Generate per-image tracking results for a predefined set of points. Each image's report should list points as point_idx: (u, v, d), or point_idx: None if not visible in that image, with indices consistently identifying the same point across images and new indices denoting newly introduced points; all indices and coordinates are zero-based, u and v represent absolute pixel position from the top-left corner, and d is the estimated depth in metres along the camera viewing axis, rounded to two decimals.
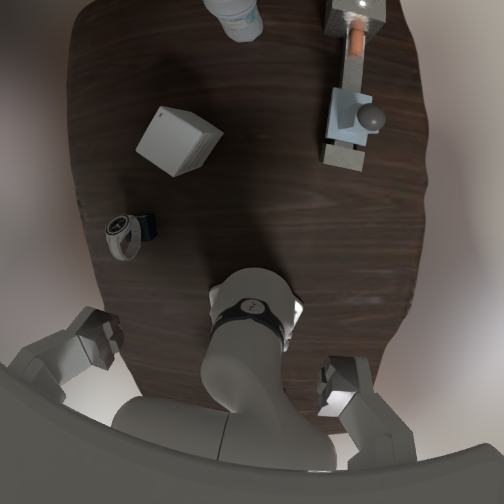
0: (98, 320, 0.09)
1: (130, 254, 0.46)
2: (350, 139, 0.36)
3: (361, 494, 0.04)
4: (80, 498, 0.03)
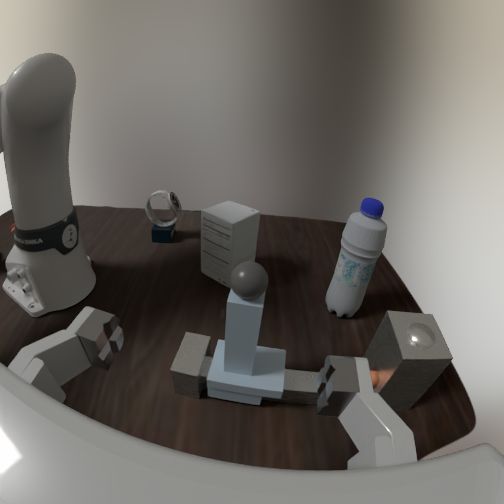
0: (98, 320, 0.09)
1: (148, 208, 0.58)
2: (215, 362, 0.28)
3: (361, 494, 0.04)
4: (80, 498, 0.03)
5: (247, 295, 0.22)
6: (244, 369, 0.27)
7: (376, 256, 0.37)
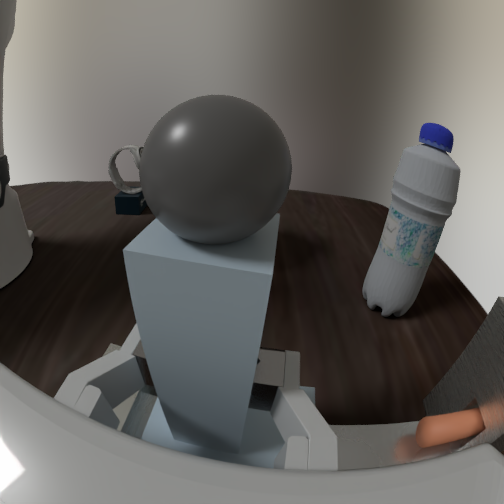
0: None
1: (113, 169, 0.40)
2: (157, 415, 0.11)
3: (361, 494, 0.04)
4: (80, 498, 0.03)
5: (197, 211, 0.04)
6: (220, 443, 0.09)
7: (449, 213, 0.20)
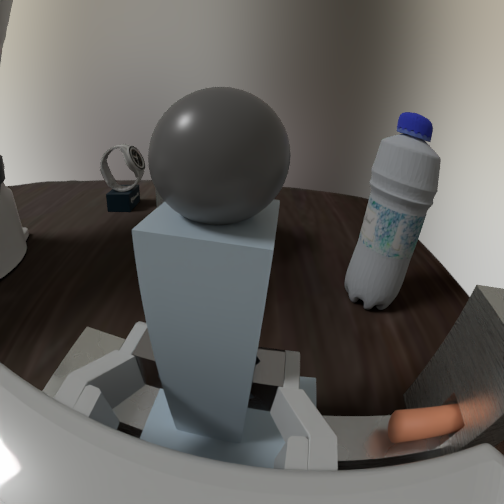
0: None
1: (105, 167, 0.41)
2: (160, 406, 0.11)
3: (361, 494, 0.04)
4: (80, 498, 0.03)
5: (204, 190, 0.05)
6: (222, 432, 0.10)
7: (429, 203, 0.20)
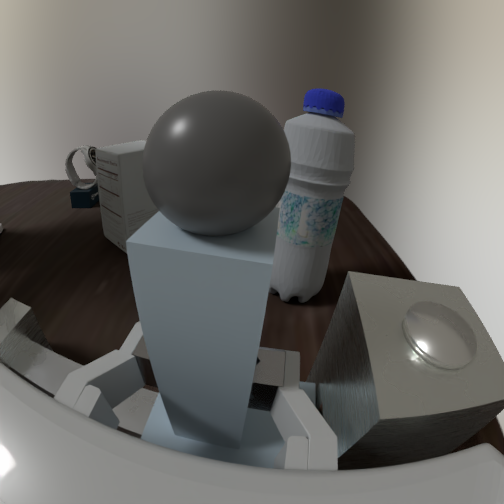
0: None
1: (69, 167, 0.41)
2: (158, 411, 0.11)
3: (362, 494, 0.04)
4: (80, 498, 0.03)
5: (200, 202, 0.05)
6: (221, 438, 0.10)
7: (338, 184, 0.20)
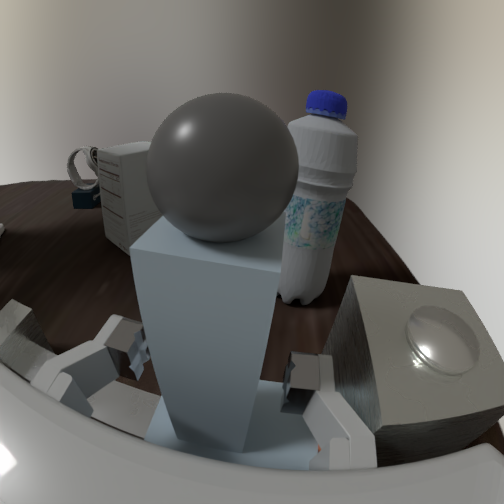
0: (128, 329, 0.09)
1: (71, 168, 0.41)
2: (161, 415, 0.11)
3: (362, 494, 0.04)
4: (80, 498, 0.03)
5: (206, 208, 0.04)
6: (224, 443, 0.09)
7: (341, 186, 0.20)
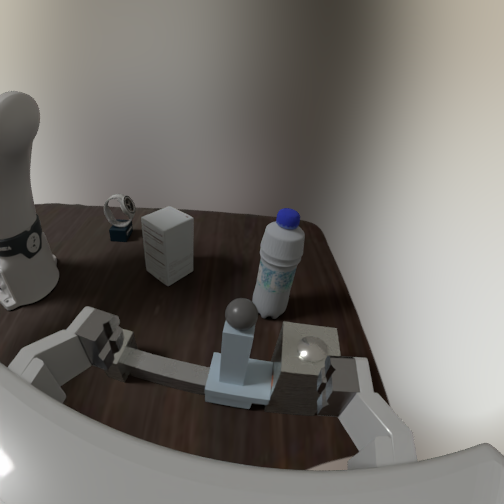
0: (98, 320, 0.09)
1: (107, 210, 0.60)
2: (211, 373, 0.32)
3: (361, 494, 0.04)
4: (80, 498, 0.03)
5: (240, 328, 0.25)
6: (237, 381, 0.31)
7: (291, 265, 0.41)
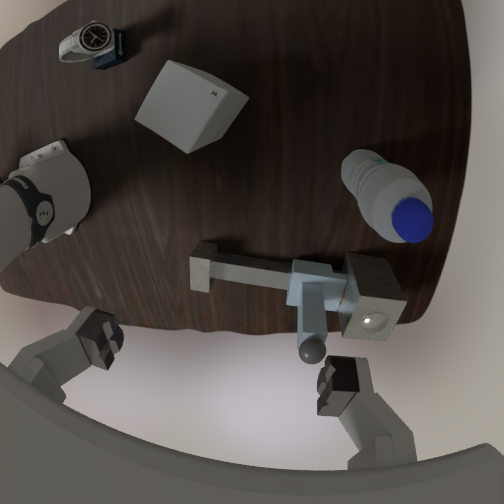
0: (98, 320, 0.09)
1: (70, 56, 0.24)
2: (291, 292, 0.40)
3: (362, 494, 0.04)
4: (80, 498, 0.03)
5: None
6: None
7: None
